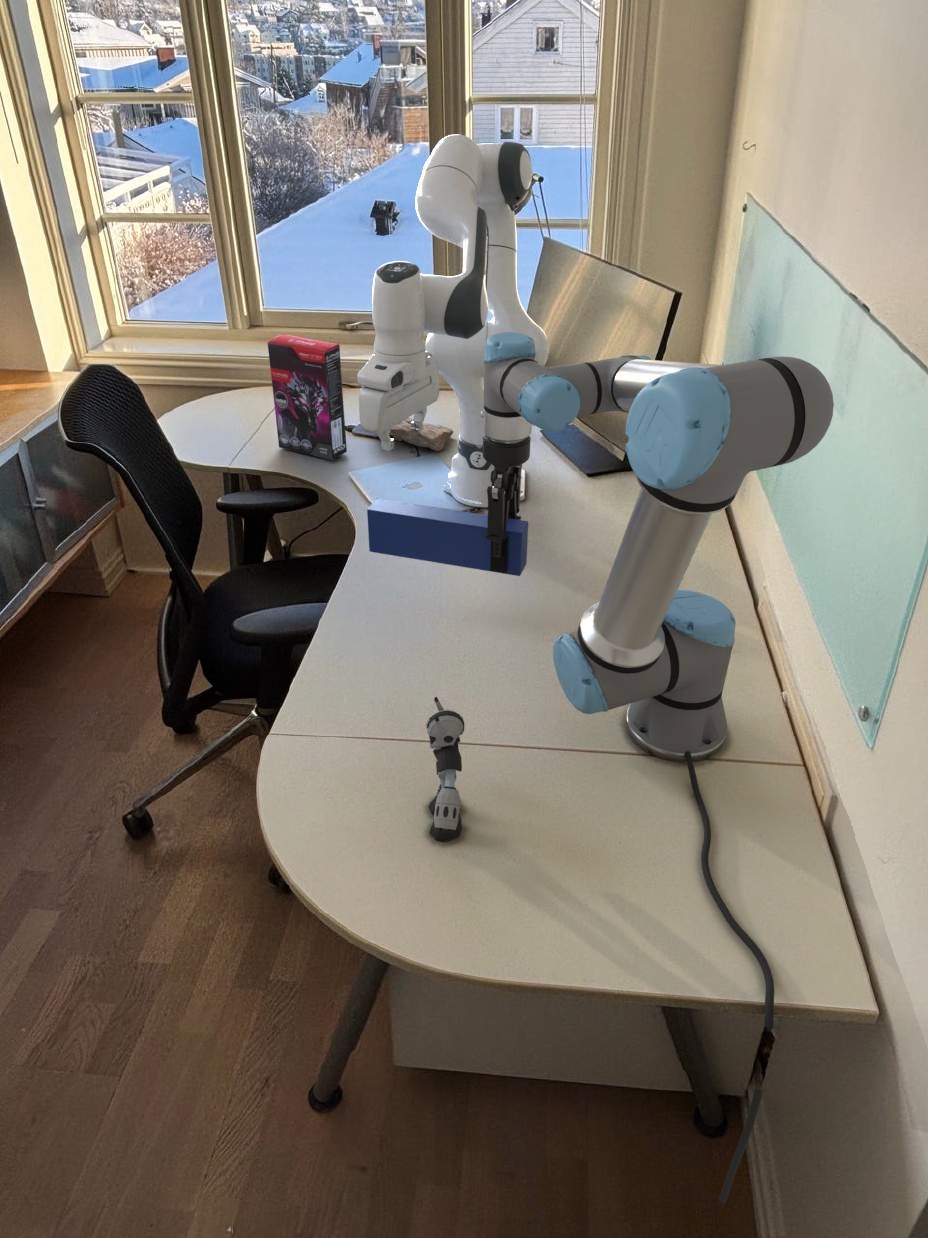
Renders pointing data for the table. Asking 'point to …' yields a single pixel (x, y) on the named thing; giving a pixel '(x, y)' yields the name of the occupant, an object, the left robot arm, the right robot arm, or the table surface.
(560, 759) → the table surface
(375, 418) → the left robot arm
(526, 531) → the bar
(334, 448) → the graphics card box
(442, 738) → the robot
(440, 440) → the stone
